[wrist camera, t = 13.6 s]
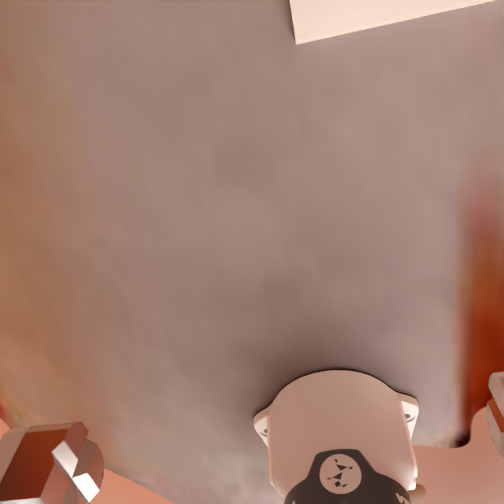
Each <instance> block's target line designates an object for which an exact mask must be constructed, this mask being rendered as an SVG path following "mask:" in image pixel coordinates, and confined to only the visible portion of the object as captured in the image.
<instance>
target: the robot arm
mask: <svg viewBox="0 0 504 504" xmlns="http://www.w3.org/2000/svg"><path fill="white" fill-rule="evenodd" d="M489 389H490V391H491V393H492V395H493V398H491V399H490V400H489V401H488V402H487V420H488V425H489V430H490V433H491V436H492V439H493V442H494V444H495V446H496V449H497V451H498V453H499V454H500V455H501V456H502V457H504V372H498V373H492V375H491V376H490V379H489ZM418 413H419V407H418V402H417V400H416V399H414V398H413V397H410V396H407V395H404V394H401V393H397V392H395V391H393V390H392V389H390V388H389V387H388V386H387V385H385V384H384V383H383V382H381V381H380V380H378V379H376V378H374V377H372V376H369V375H366V374H363V373H359V372H354V371H346V370H331V371H322V372H317V373H313V374H309V375H306V376H304V377H301V378H299V379H297V380H295V381H293V382H291V383H290V384H288V385H287V386H286V387H285V388H283V389H282V390H281V391H280V392H279V394H278V395H277V396H276V398H275V399H274V401H273V402H272V404H271V405H270V406H269V407H267V408H266V409H264V410H262V411H261V412H259V413H258V414H257V415H256V416H255V417H254V419H253V420H254V428H255V430H256V431H257V432H258V434H259V435H260V437H261V438H262V440H263V441H264V443H265V444H266V446H267V447H268V458H269V478H270V483H271V485H273V486H274V487H275V489H276V491H277V492H278V494H280V495H281V496H282V497H283V498H284V499H285V503H284V504H411V501H410V497H409V494H408V492H407V491H408V490H414V489H415V487H416V482H415V477H417V471H418V470H417V463H416V459H415V454H414V450H413V446H412V442H411V437H412V434H413V430H414V427H415V423H416V420H417V416H418ZM88 432H89V431H88V430H87V429H86V427H85V426H84V425H83V423H82V422H75V423H63V424H51V425H40V426H29V427H20V428H11V429H10V430H9V431H8V432H7V433H5V434H4V435H3V436H2V438H1V440H0V504H90V503H89V501H90V500H91V499H92V498H93V497H94V496H95V495H96V494H97V492H98V491H99V490H100V487H101V483H102V480H103V476H104V459H103V455H102V452H101V450H100V448H99V447H98V445H97V444H95V443H93V442H91V441H90V440H88V439H86V437H87V435H88Z"/></svg>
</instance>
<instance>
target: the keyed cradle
mask: <svg viewBox="0 0 504 504" xmlns="http://www.w3.org/2000/svg"><path fill="white" fill-rule="evenodd" d="M490 1H494V0H289V2H290V9H291V15H292V22H293V28H294V35H295V41H296V45H297V44H302V43H306V42H311V41H315V40H320V39H324V38H328V37H333V36H337V35H342V34H346V33H351V32H355V31H360V30H364V29H369V28H373V27H378V26H382V25H387V24H391V23H396V22H400V21H405V20H409V19H414V18H418V17H423V16H427V15H431V14H436V13H440V12H445V11H449V10H454V9H458V8H463V7H467V6H472V5H476V4H481V3H485V2H490Z"/></svg>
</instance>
